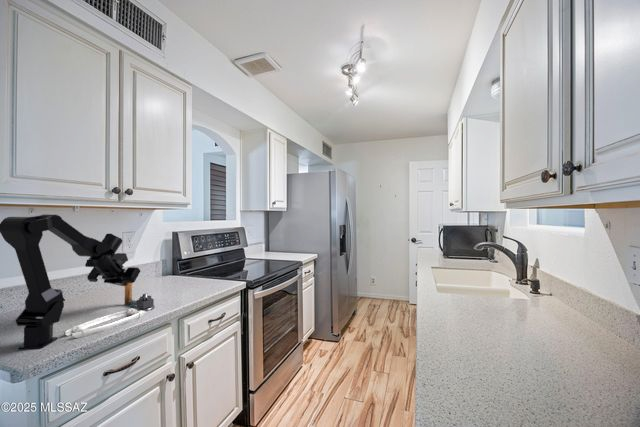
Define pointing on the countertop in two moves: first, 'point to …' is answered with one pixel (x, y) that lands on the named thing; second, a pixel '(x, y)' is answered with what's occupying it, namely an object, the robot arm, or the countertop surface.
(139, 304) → the l-shaped piece
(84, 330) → the door handle
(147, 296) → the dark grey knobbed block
